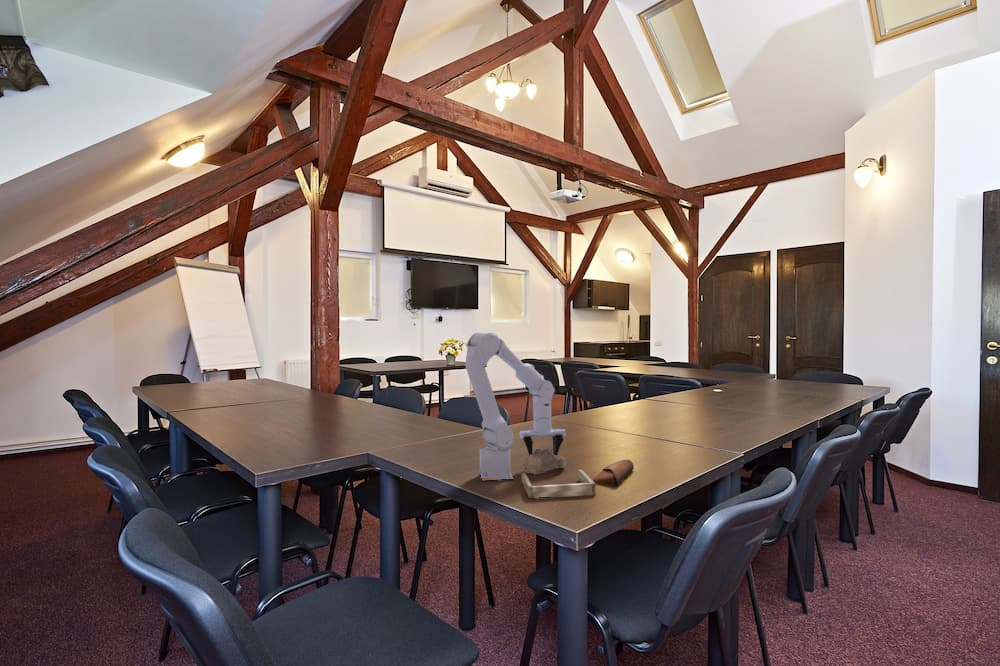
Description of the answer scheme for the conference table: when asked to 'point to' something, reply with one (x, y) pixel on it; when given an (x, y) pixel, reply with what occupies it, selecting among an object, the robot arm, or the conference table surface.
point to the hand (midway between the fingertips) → (543, 459)
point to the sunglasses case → (614, 473)
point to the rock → (542, 461)
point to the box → (561, 488)
